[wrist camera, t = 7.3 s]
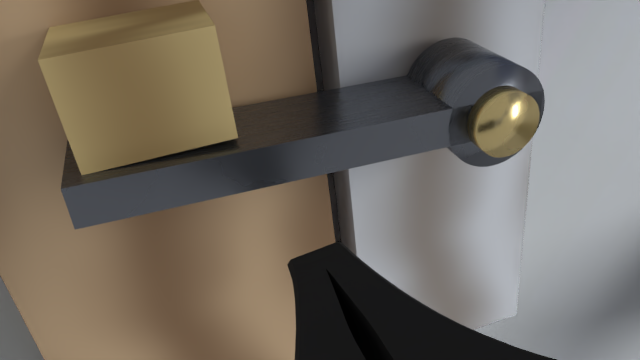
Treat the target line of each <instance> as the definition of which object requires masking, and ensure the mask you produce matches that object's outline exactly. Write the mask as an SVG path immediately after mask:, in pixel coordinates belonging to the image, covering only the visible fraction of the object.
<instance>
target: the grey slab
mask: <svg viewBox="0 0 640 360" xmlns="http://www.w3.org/2000/svg"><path fill="white" fill-rule="evenodd" d="M314 8H315V17H316V26H317V34H318V43H319V52H320V61H321V69H322V78H323V87H324V91H326V90H331V89H336V88H342V87H347V86H352V85H358V84H363V83H369V82H374V81H379V80H385V79H390V78H395V77H401V76H406V75H407V74H408V72H409V70H410V68H411V66H412V64H413V63H414V61H415V60H416V59H417V57H418V56H419V55H420V54H421V53H422V52H423V51H424V50H425V49H427V48H428V47H429V46H431V45H432V44H434V43H436V42H438V41H441V40H443V39H448V38H464V39H467V40H470V41H472V42H474V43H476V44H478V45H480V46H482V47H484V48H486V49H488V50H490V51H492V52H494V53H496V54H498V55H500V56H502V57H504V58H506V59H508V60H510V61H512V62H514V63H516V64H518V65H520V66H522V67H524V68H526V69H528V70H530V71H531V72H532V73H534V74H535V75H536V77H537V78H538V75H539V64H540V53H541V42H542V31H543V20H544V9H545V0H314ZM315 92H317V87H316V78H315V70H314V62H313V54H312V45H311V37H310V29H309V21H308V12H307V4H306V0H0V276H1V278H2V279H3V281H4V283H5V285H6V287H7V289H8V291H9V293H10V295H11V297H12V299H13V301H14V303H15V304H16V306H17V308H18V310H19V312H20V314H21V316H22V318H23V320H24V322H25V324H26V326H27V327H28V329H29V331H30V333H31V335H32V337H33V339H34V341H35V343H36V345H37V347H38V349H39V351H40V352H41V354H42V356H43V358H44V360H295V339H296V314H295V297H294V288H293V282H292V278H291V275H290V272H289V269H288V266H287V264H288V263H289V261H290V260H291V259H293V258H296V257H298V256H301V255H304V254H306V253H309V252H312V251H314V250H317V249H319V248H322V247H325V246H327V245H330V244H333V243H335V235H334V227H333V219H332V210H331V202H330V194H329V186H328V177H327V174H324V175H319V176H315V177H310V178H306V179H301V180H297V181H292V182H288V183H283V184H279V185H274V186H270V187H265V188H261V189H256V190H252V191H247V192H243V193H238V194H234V195H229V196H225V197H220V198H216V199H211V200H207V201H202V202H198V203H193V204H189V205H184V206H180V207H175V208H171V209H166V210H162V211H157V212H153V213H148V214H144V215H139V216H135V217H130V218H126V219H121V220H117V221H112V222H108V223H103V224H99V225H94V226H90V227H85V228H80V229H76V230H75V229H74V226H73V223H72V220H71V218H70V215H69V212H68V209H67V206H66V203H65V200H64V197H63V195H62V192H61V182H62V175H63V168H64V161H65V154H66V147H67V140H68V141H69V144H70V146H71V149H72V152H73V154H74V157H75V160H76V162H77V165H78V167H79V170H80V173H81V175H86V174H90V173H95V172H99V171H103V170H107V169H111V168H115V167H120V166H124V165H128V164H132V163H136V162H140V161H144V160H149V159H153V158H157V157H161V156H165V155H169V154H174V153H178V152H182V151H186V150H190V149H194V148H198V147H203V146H207V145H211V144H215V143H219V142H223V141H228V140H232V139H236V138H238V134H237V129H236V124H235V120H234V115H233V110H232V108H234V107H239V106H245V105H250V104H256V103H261V102H266V101H272V100H277V99H282V98H288V97H293V96H299V95H304V94H309V93H315ZM532 140H533V137H532V138H531V140H530V141H529V142H528V143H527V144H526V145H525V147H524V148H523V149H522V150H520V151H519V152H518V153H517V154H516V155H514V156H513V157H511V158H510V159H508V160H506V161H504V162H502V163H499V164H496V165H493V166H488V167H477V166H472V165H469V164H467V163H465V162H463V161H462V160H460V159H459V158H458V157H457V156H456V155H455V154H453V153H452V152H451V151H450V150H449V149H447V148H441V149H437V150H432V151H428V152H423V153H419V154H414V155H410V156H405V157H401V158H396V159H392V160H387V161H383V162H378V163H374V164H369V165H365V166H360V167H356V168H351V169H347V170H342V171H338V172H333V174H334V183H335V192H336V200H337V209H338V218H339V227H340V235H341V243H343V244H344V245H345V246H346V247H347V248H348V249H349V250H351V251H352V252H353V253H354V254H355V255H356V256H357V257H358V258H360V259H361V260H362V261H363V262H364V263H366V264H367V265H368V266H369V267H371V268H372V269H373V270H374V271H376V272H377V273H378V274H380V275H381V276H382V277H384V278H385V279H387V280H388V281H389V282H391V283H392V284H394V285H395V286H396V287H398V288H399V289H401V290H402V291H404V292H405V293H407V294H408V295H410V296H411V297H413V298H415V299H416V300H418V301H420V302H421V303H423V304H424V305H426V306H428V307H429V308H431V309H433V310H435V311H436V312H438V313H440V314H442V315H444V316H446V317H448V318H450V319H452V320H454V321H455V322H457V323H459V324H462V325H464V326H466V327H468V328H470V329H472V330H474V329H477V328H480V327H482V326H485V325H488V324H491V323H494V322H497V321H500V320H503V319H506V318H509V317H512V316H515V315H517V304H518V293H519V282H520V271H521V260H522V249H523V238H524V227H525V216H526V206H527V195H528V184H529V173H530V162H531V151H532Z"/></svg>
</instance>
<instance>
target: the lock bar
mask: <svg viewBox="0 0 640 360" xmlns="http://www.w3.org/2000/svg"><path fill="white" fill-rule="evenodd" d="M543 91H544V90H543V88H542V85H541V83H540V81H539V79H538V78H537V77H536V75H535V74H534V73H532V72H531V71H530V70H528V69H526V68H524V67H522V66H520V65H518V64H516V63H514V62H512V61H510V60H508V59H506V58H504V57H502V56H500V55H498V54H496V53H494V52H492V51H490V50H488V49H486V48H484V47H482V46H480V45H478V44H476V43H474V42H472V41H470V40H467V39H464V38H448V39H443V40H441V41H438V42H436V43H434V44H432V45H431V46H429V47H428V48H427V49H425V50H424V51H423V52H422V53H421V54H420V55H419V56H418V57H417V59H416V60H415V61H414V63H413V64H412V66H411V68H410V70H409V72H408V74H407V75H406V76H401V77H395V78H390V79H385V80H379V81H374V82H369V83H363V84H358V85H352V86H347V87H342V88H336V89H331V90H326V91H320V92H315V93H309V94H304V95H299V96H293V97H288V98H282V99H277V100H272V101H266V102H261V103H256V104H250V105H245V106H239V107H234V108H232V110H233V115H234V120H235V124H236V129H237V134H238V138H236V139H232V140H228V141H223V142H219V143H215V144H211V145H207V146H203V147H198V148H194V149H190V150H186V151H182V152H178V153H174V154H169V155H165V156H161V157H157V158H153V159H149V160H144V161H140V162H136V163H132V164H128V165H124V166H120V167H115V168H111V169H107V170H103V171H99V172H95V173H90V174H86V175H81V173H80V170H79V167H78V165H77V162H76V160H75V157H74V154H73V152H72V149H71V146H70V144H69V141H68V140H67V147H66V154H65V161H64V168H63V175H62V182H61V192H62V195H63V197H64V200H65V203H66V206H67V209H68V212H69V215H70V218H71V220H72V223H73V226H74V229H75V230H76V229H80V228H85V227H90V226H94V225H99V224H103V223H108V222H112V221H117V220H121V219H126V218H130V217H135V216H139V215H144V214H148V213H153V212H157V211H162V210H166V209H171V208H175V207H180V206H184V205H189V204H193V203H198V202H202V201H207V200H211V199H216V198H220V197H225V196H229V195H234V194H238V193H243V192H247V191H252V190H256V189H261V188H265V187H270V186H274V185H279V184H283V183H288V182H292V181H297V180H301V179H306V178H310V177H315V176H319V175H324V174H328V173H333V172H338V171H342V170H347V169H351V168H356V167H360V166H365V165H369V164H374V163H378V162H383V161H387V160H392V159H396V158H401V157H405V156H410V155H414V154H419V153H423V152H428V151H432V150H437V149H441V148H447V149H449V150H450V151H451V152H452V153H453V154H455V155H456V156H457V157H458V158H459V159H460V160H462V161H463V162H465V163H467V164H469V165H472V166H477V167H488V166H493V165H496V164H499V163H502V162H504V161H506V160H508V159H510V158H511V157H513V156H514V155H516V154H517V153H518V152H519V151H520V150H522V149H523V148H524V147H525V145H526V144H527V143H528V142H529V141H530V140H531V138H532V137H533V135H534V134H535V132H536V130H537V128H538V127H539V124H540V121H541V118H542V115H543V111H544V92H543Z"/></svg>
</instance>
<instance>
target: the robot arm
mask: <svg viewBox="0 0 640 360" xmlns="http://www.w3.org/2000/svg"><path fill="white" fill-rule="evenodd" d="M287 266H288V269H289V272H290V275H291V278H292V282H293V288H294V297H295V314H296V339H295V360H556V359H552V358H548V357H545V356H541V355H538V354H535V353H532V352H529V351H526V350H523V349H520V348H517V347H514V346H512V345H509V344H506V343H504V342H501V341H499V340H496V339H494V338H491V337H489V336H486V335H483V334H481V333H479V332H477V331H474V330H472V329H470V328H468V327H466V326H464V325H462V324H459V323H457V322H455V321H454V320H452V319H450V318H448V317H446V316H444V315H442V314H440V313H438V312H436V311H435V310H433V309H431V308H429V307H428V306H426V305H424V304H423V303H421V302H420V301H418V300H416V299H415V298H413V297H411V296H410V295H408V294H407V293H405V292H404V291H402V290H401V289H399V288H398V287H396V286H395V285H394V284H392V283H391V282H389V281H388V280H387V279H385V278H384V277H382V276H381V275H380V274H378V273H377V272H376V271H374V270H373V269H372V268H371V267H369V266H368V265H367V264H366V263H364V262H363V261H362V260H361V259H360V258H358V257H357V256H356V255H355V254H354V253H353V252H352V251H351V250H349V249H348V248H347V247H346V246H345V245H344V244H343V243H341V242H339V241H338V242H335V243H333V244H330V245H327V246H325V247H322V248H319V249H317V250H314V251H312V252H309V253H306V254H304V255H301V256H298V257H296V258H293V259H291V260H290V261H289V263H288V264H287Z"/></svg>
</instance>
